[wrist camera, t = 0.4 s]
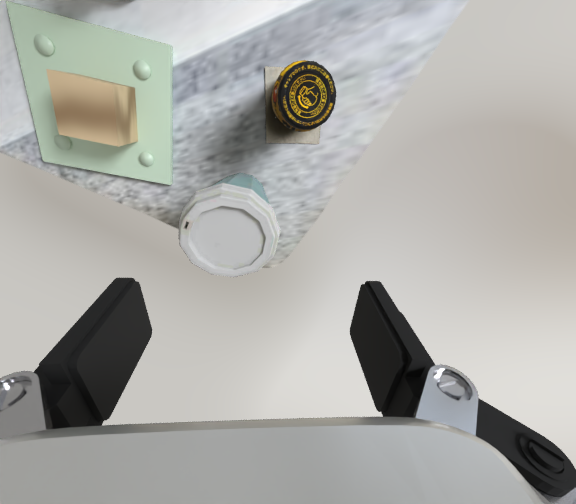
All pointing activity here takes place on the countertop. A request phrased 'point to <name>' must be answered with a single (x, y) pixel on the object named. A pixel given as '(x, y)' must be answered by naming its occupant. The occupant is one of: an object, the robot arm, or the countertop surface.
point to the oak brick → (93, 108)
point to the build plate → (106, 66)
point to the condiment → (297, 102)
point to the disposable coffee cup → (229, 227)
